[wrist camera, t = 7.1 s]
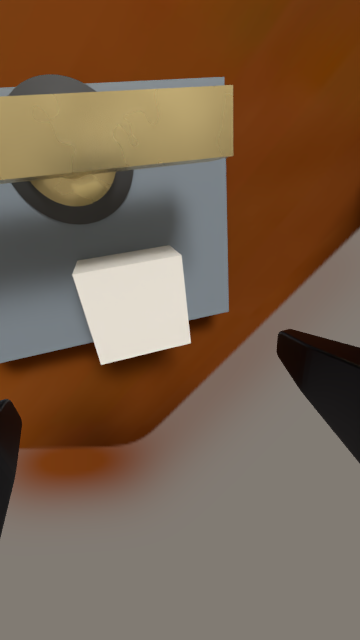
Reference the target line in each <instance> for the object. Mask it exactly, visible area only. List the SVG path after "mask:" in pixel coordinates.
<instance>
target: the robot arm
mask: <svg viewBox="0 0 360 640" xmlns="http://www.w3.org/2000/svg"><path fill="white" fill-rule="evenodd" d="M277 355H278V357H279V358H280V360H281V362H282V363H283V365H284V366H285V368H286V369H287V371H288V372H289V374H290V375H291V377H292V378H293V380H294V381H295V383H296V384H297V386H298V387H299V389H300V390H301V391H302V393H303V394H304V395H305V397H306V398H307V399H308V400H309V402H310V403H311V404H312V405H313V406H314V408H315V409H316V410H317V411H318V413H319V414H320V415H321V416H322V417H323V419H324V420H325V421H326V422H327V424H328V425H329V426H330V427H331V429H332V430H333V431H334V432H335V433H336V435H337V436H338V437H339V438H340V440H341V441H342V442H343V443H344V445H345V446H346V447H347V448H348V450H349V451H350V452H351V453H352V454H353V456H354V457H355V458H356V459H357V461H358V462H359V463H360V348H359V347H355V346H351V345H348V344H344V343H340V342H337V341H333V340H329V339H326V338H322V337H318V336H314V335H311V334H307V333H303V332H300V331H296V330H292V329H288V330H284V331H281V332H279V334H278V341H277ZM21 428H22V421H21V417H20V416H19V414H18V412H17V410H16V409H15V407H14V405H13V403H12V402H11V401H10V400H8V399H5V400H0V537H1V533H2V529H3V524H4V521H5V516H6V512H7V508H8V504H9V499H10V495H11V492H12V487H13V483H14V479H15V473H16V467H17V459H18V452H19V444H20V436H21Z"/></svg>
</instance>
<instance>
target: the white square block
mask: <svg viewBox="0 0 360 640" xmlns="http://www.w3.org/2000/svg"><path fill="white" fill-rule="evenodd" d="M72 276H73V279H74V282H75V285H76V288H77V291H78V294H79V297H80V301H81V304H82V307H83V310H84V313H85V316H86V319H87V322H88V326H89V329H90V332H91V335H92V338H93V341H94V344H95V347H96V350H97V354H98V357H99V360H100V363H101V365H103V364H107V363H111V362H115V361H119V360H124V359H128V358H132V357H136V356H140V355H144V354H148V353H152V352H156V351H160V350H165V349H169V348H173V347H177V346H181V345H185V344H189V343H191V339H190V330H189V320H188V311H187V301H186V292H185V282H184V273H183V263H182V255H181V254H180V253H178V252H177V251H176V250H175V249H173V248H172V247H171V246H170V245H167V246H161V247H155V248H149V249H143V250H137V251H131V252H125V253H120V254H114V255H108V256H102V257H96V258H90V259H84V260H78V261H77V263H76V266H75V268H74V271H73V274H72Z"/></svg>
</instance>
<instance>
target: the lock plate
mask: <svg viewBox="0 0 360 640" xmlns="http://www.w3.org/2000/svg"><path fill="white" fill-rule="evenodd" d="M222 85H224V77H212V78H192V79H171V80H151V81H130V82H110V83H89V84H84V83H82V82H80V81H78V80H75V79H73V78H70V77H66V76H61V75H40V76H36V77H33V78H30V79H28V80H26V81H24V82H22V83H21V84H19V85H18V86H17V87H8V88H0V97H1V96H21V95H41V94H62V93H82V92H102V91H122V90H142V89H162V88H182V87H202V86H222ZM167 245H170V246H171V247H172V248H173V249H175V250H176V251H177V252H178V253H180V254H181V255H182V263H183V273H184V282H185V292H186V301H187V311H188V320H193V319H197V318H202V317H206V316H211V315H215V314H219V313H224V312H228V311H229V299H228V248H227V196H226V158H223V159H219V160H215V161H211V162H202V163H193V164H184V165H174V166H165V167H155V168H146V169H137V170H127V171H118V172H116V173H115V177H114V180H113V183H112V185H111V187H110V189H109V190H108V191H107V193H106V194H105V195H104V196H103V197H102V198H100V199H99V200H98V201H96V202H94V203H92V204H89V205H85V206H67V205H63V204H60V203H57V202H55V201H53V200H51V199H49V198H48V197H46V196H45V195H43V194H42V193H41V192H39V191H38V190H37V189H36V188H35V187H34V186H33V184H32V183H31V182H30V181H24V182H15V183H6V184H0V363H3V362H7V361H12V360H16V359H21V358H25V357H30V356H34V355H38V354H43V353H47V352H52V351H56V350H60V349H65V348H69V347H74V346H78V345H83V344H87V343H91V342H94V341H93V338H92V335H91V332H90V329H89V326H88V322H87V319H86V316H85V313H84V310H83V307H82V304H81V301H80V297H79V294H78V291H77V288H76V285H75V282H74V279H73V276H72V274H73V271H74V268H75V266H76V263H77V261H78V260H84V259H90V258H96V257H102V256H108V255H114V254H120V253H125V252H131V251H137V250H143V249H149V248H155V247H161V246H167Z"/></svg>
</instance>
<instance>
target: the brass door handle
mask: <svg viewBox="0 0 360 640" xmlns="http://www.w3.org/2000/svg"><path fill="white" fill-rule="evenodd" d="M231 156H233V85H222V86H202V87H182V88H162V89H142V90H122V91H102V92H82V93H62V94H41V95H21V96H1V97H0V184H6V183H15V182H24V181H30V182H31V183H32V184H33V186H34V187H35V188H36V189H37V190H38V191H39V192H41V193H42V194H43V195H45V196H46V197H48V198H49V199H51V200H53V201H55V202H57V203H60V204H63V205H67V206H85V205H89V204H92V203H94V202H96V201H98V200H99V199H100V198H102V197H103V196H104V195H105V194H106V193H107V191H108V190H109V189H110V187H111V185H112V183H113V180H114V177H115V173H116V172H118V171H127V170H137V169H146V168H155V167H165V166H174V165H184V164H193V163H202V162H211V161H215V160H219V159H223V158H227V157H231Z"/></svg>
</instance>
